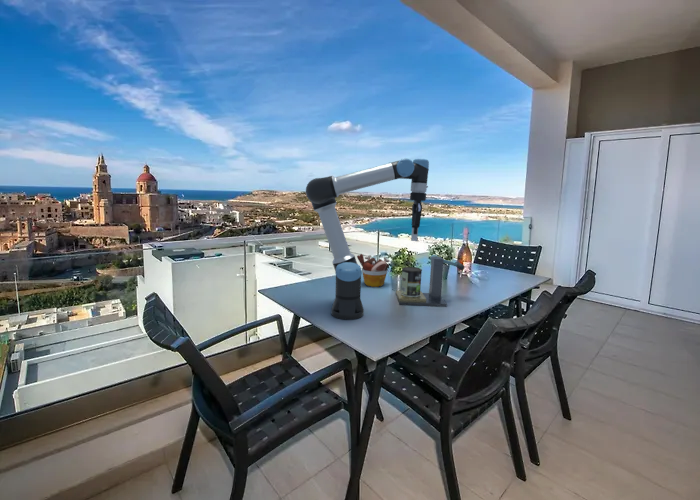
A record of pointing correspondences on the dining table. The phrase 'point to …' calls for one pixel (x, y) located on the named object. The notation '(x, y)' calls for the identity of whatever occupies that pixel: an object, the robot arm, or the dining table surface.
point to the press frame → (434, 291)
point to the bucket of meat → (373, 270)
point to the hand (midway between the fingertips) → (414, 240)
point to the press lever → (452, 263)
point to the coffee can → (411, 281)
